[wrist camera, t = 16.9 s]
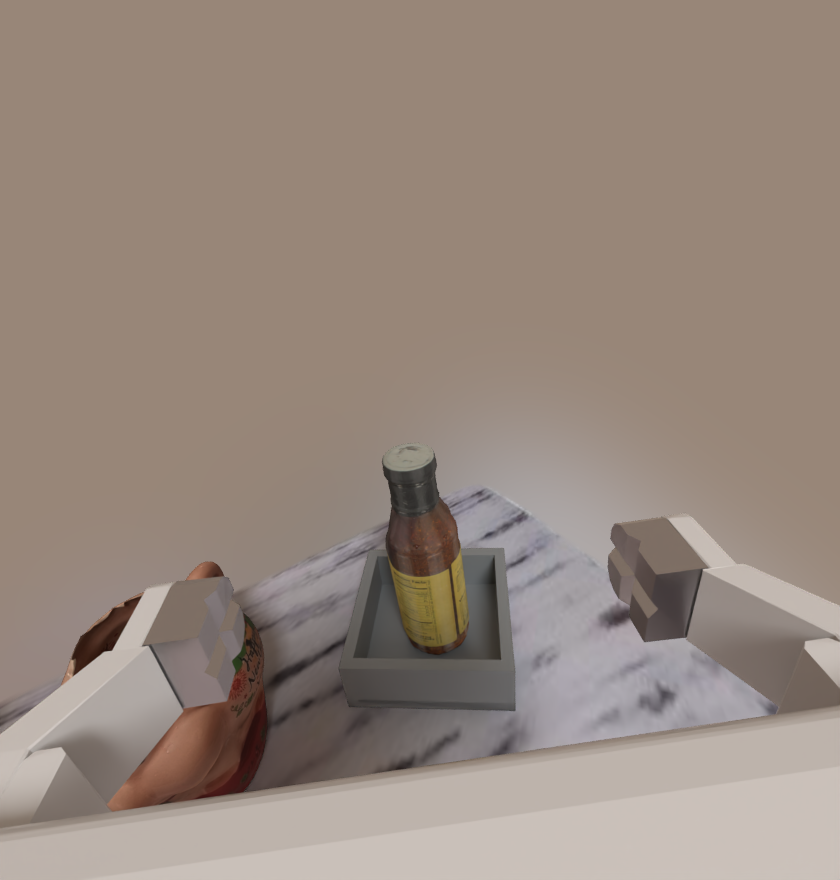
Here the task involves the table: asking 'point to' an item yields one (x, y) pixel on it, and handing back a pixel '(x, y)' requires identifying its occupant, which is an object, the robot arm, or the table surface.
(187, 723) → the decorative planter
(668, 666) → the table surface
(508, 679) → the tray
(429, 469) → the sauce bottle
